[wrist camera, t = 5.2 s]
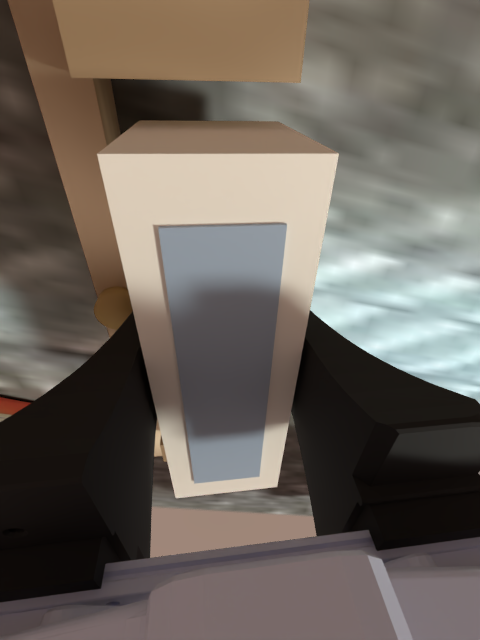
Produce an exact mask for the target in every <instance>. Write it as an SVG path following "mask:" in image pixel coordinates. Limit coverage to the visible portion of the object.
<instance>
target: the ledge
mask: <svg viewBox="0 0 480 640" xmlns="http://www.w3.org/2000/svg"><path fill="white" fill-rule="evenodd" d="M8 3H9V7H10V10H11V13H12V16H13V20H14V23H15V26H16V30H17V33H18V36H19V40H20V43H21V46H22V50H23V53H24V56H25V59H26V63H27V66H28V69H29V73H30V76H31V79H32V83H33V86H34V89H35V93H36V96H37V99H38V102H39V106H40V109H41V112H42V116H43V119H44V122H45V126H46V129H47V132H48V136H49V139H50V142H51V145H52V149H53V152H54V155H55V159H56V162H57V165H58V169H59V172H60V175H61V179H62V182H63V185H64V188H65V192H66V195H67V198H68V202H69V205H70V208H71V212H72V215H73V218H74V221H75V225H76V228H77V231H78V235H79V238H80V241H81V245H82V248H83V251H84V255H85V258H86V261H87V264H88V268H89V271H90V274H91V278H92V281H93V284H94V288H95V291H96V294H97V298H98V299H97V301H96V304H95V306H94V314H95V317H96V318H97V320H98V321H99V322H100V323H101V324H103V325H104V326H106V327H107V331H108V334H109V337H111V336H112V335H113V334H114V333H115V332H116V331H117V329H118V328H119V327H120V326H121V325H122V324H123V322H124V321H125V320H126V319H127V317H128V316H129V315H130V314H131V312H132V311H133V309H132V305H131V300H130V296H129V292H128V287H127V283H126V278H125V274H124V270H123V265H122V261H121V257H120V252H119V248H118V244H117V239H116V235H115V230H114V226H113V222H112V217H111V213H110V209H109V204H108V200H107V195H106V191H105V187H104V182H103V178H102V174H101V169H100V165H99V160H98V156H97V154H98V153H99V152H100V151H101V150H103V149H104V148H105V147H106V146H108V145H109V144H110V143H111V142H113V141H114V140H115V139H117V138H118V137H119V136H120V135H121V134H120V128H119V123H118V117H117V112H116V106H115V101H114V95H113V90H112V84H111V79H153V80H200V81H246V82H293V83H301V73H302V64H303V55H304V45H305V36H306V26H307V17H308V8H309V0H8ZM156 456H163V460H164V462H166V461H167V458H166V453H165V449H164V445H163V440H162V436H161V431H160V427H159V423H158V418H157V425H156V433H155V449H154V457H156Z"/></svg>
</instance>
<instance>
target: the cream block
mask: <svg viewBox="0 0 480 640" xmlns="http://www.w3.org/2000/svg"><path fill="white" fill-rule="evenodd" d="M97 156H98V160H99V165H100V169H101V174H102V178H103V182H104V187H105V191H106V195H107V200H108V204H109V209H110V213H111V217H112V222H113V226H114V230H115V235H116V239H117V244H118V248H119V252H120V257H121V261H122V265H123V270H124V274H125V278H126V283H127V287H128V292H129V296H130V300H131V305H132V309H133V313H134V318H135V322H136V327H137V331H138V335H139V340H140V344H141V348H142V353H143V357H144V362H145V366H146V370H147V375H148V379H149V383H150V388H151V392H152V396H153V401H154V405H155V410H156V414H157V418H158V423H159V427H160V431H161V436H162V440H163V445H164V449H165V453H166V458H167V462H168V466H169V471H170V475H171V480H172V484H173V488H174V493H175V497H176V498H182V497H191V496H200V495H209V494H218V493H227V492H236V491H245V490H254V489H263V488H272V487H277V484H278V479H279V474H280V468H281V463H282V458H283V452H284V447H285V441H286V436H287V431H288V425H289V420H290V414H291V409H292V404H293V398H294V393H295V387H296V382H297V377H298V371H299V366H300V361H301V355H302V350H303V344H304V339H305V334H306V328H307V323H308V317H309V312H310V307H311V301H312V296H313V290H314V285H315V280H316V274H317V269H318V264H319V258H320V253H321V247H322V242H323V237H324V231H325V226H326V220H327V215H328V210H329V204H330V199H331V193H332V188H333V183H334V177H335V172H336V167H337V161H338V156H339V153H337V152H335V151H333V150H331V149H329V148H327V147H326V146H324V145H322V144H320V143H318V142H316V141H314V140H312V139H310V138H308V137H306V136H305V135H303V134H301V133H299V132H297V131H295V130H293V129H291V128H289V127H287V126H286V125H284V124H282V123H280V122H271V121H157V120H139V121H138V122H137V123H136V124H134V125H133V126H132V127H130V128H129V129H128V130H127V131H125V132H124V133H123V134H122V135H120V136H119V137H118V138H117V139H115V140H114V141H113V142H111V143H110V144H109V145H108V146H106V147H105V148H104V149H103V150H101V151H100V152H99V153H98V154H97Z"/></svg>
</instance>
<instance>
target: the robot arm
mask: <svg viewBox="0 0 480 640" xmlns="http://www.w3.org/2000/svg"><path fill="white" fill-rule="evenodd" d="M291 412H292V416H293V419H294V423H295V428H296V432H297V436H298V441H299V445H300V450H301V455H302V460H303V464H304V469H305V474H306V479H307V484H308V490H309V495H310V500H311V506H312V511H313V517H314V522H315V528H316V535H317V536H316V537H309V538H301V539H293V540H285V541H279V542H270V543H263V544H255V545H247V546H240V547H231V548H224V549H216V550H208V551H200V552H193V553H185V554H177V555H169V556H161V557H154V558H150V540H151V509H152V485H153V466H154V449H155V433H156V425H157V414H156V410H155V405H154V401H153V396H152V392H151V388H150V383H149V379H148V375H147V370H146V366H145V362H144V357H143V353H142V348H141V344H140V340H139V335H138V331H137V327H136V322H135V318H134V313H133V311H132V312H131V314H130V315H129V316H128V317H127V319H126V320H125V321H124V322H123V324H122V325H121V326H120V327H119V328H118V329H117V331H116V332H115V333H114V334H113V335H112V336H111V337H110V339H109V340H108V341H107V342H106V343H105V344H104V345H103V346H102V347H101V348H100V349H99V350H98V351H97V352H96V353H95V354H94V355H93V356H92V357H91V358H90V359H89V360H88V361H87V362H85V363H84V364H83V365H82V366H81V367H80V368H78V369H77V370H76V371H75V372H74V373H72V374H71V375H70V376H69V377H67V378H66V379H64V380H63V381H62V382H60V383H59V384H58V385H56V386H55V387H54V388H52V389H51V390H50V391H48V392H47V393H46V394H44V395H43V396H41V397H40V398H38V399H37V400H35V401H34V402H32V403H31V404H29V405H27V406H26V407H24V408H23V409H21V410H19V411H18V412H16V413H15V414H13V415H11V416H10V417H8V418H6V419H4V420H3V421H1V422H0V640H480V475H479V474H478V472H479V471H480V404H479V403H478V402H477V401H476V400H475V399H472V398H470V397H467V396H464V395H461V394H458V393H456V392H453V391H450V390H447V389H444V388H442V387H439V386H436V385H434V384H431V383H429V382H426V381H424V380H422V379H419V378H417V377H415V376H412V375H410V374H408V373H406V372H404V371H402V370H399V369H397V368H395V367H393V366H391V365H390V364H388V363H386V362H384V361H382V360H380V359H378V358H376V357H374V356H373V355H371V354H369V353H367V352H366V351H364V350H363V349H361V348H359V347H358V346H356V345H355V344H353V343H352V342H350V341H349V340H347V339H346V338H344V337H343V336H341V335H340V334H339V333H337V332H336V331H335V330H333V329H332V328H331V327H329V326H328V325H327V324H326V323H324V322H323V321H322V320H321V319H320V318H318V317H317V316H316V315H315V314H314V313H313V312H311V311H310V312H309V317H308V323H307V328H306V334H305V339H304V344H303V350H302V355H301V361H300V366H299V371H298V377H297V382H296V387H295V393H294V398H293V404H292V409H291Z"/></svg>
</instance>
